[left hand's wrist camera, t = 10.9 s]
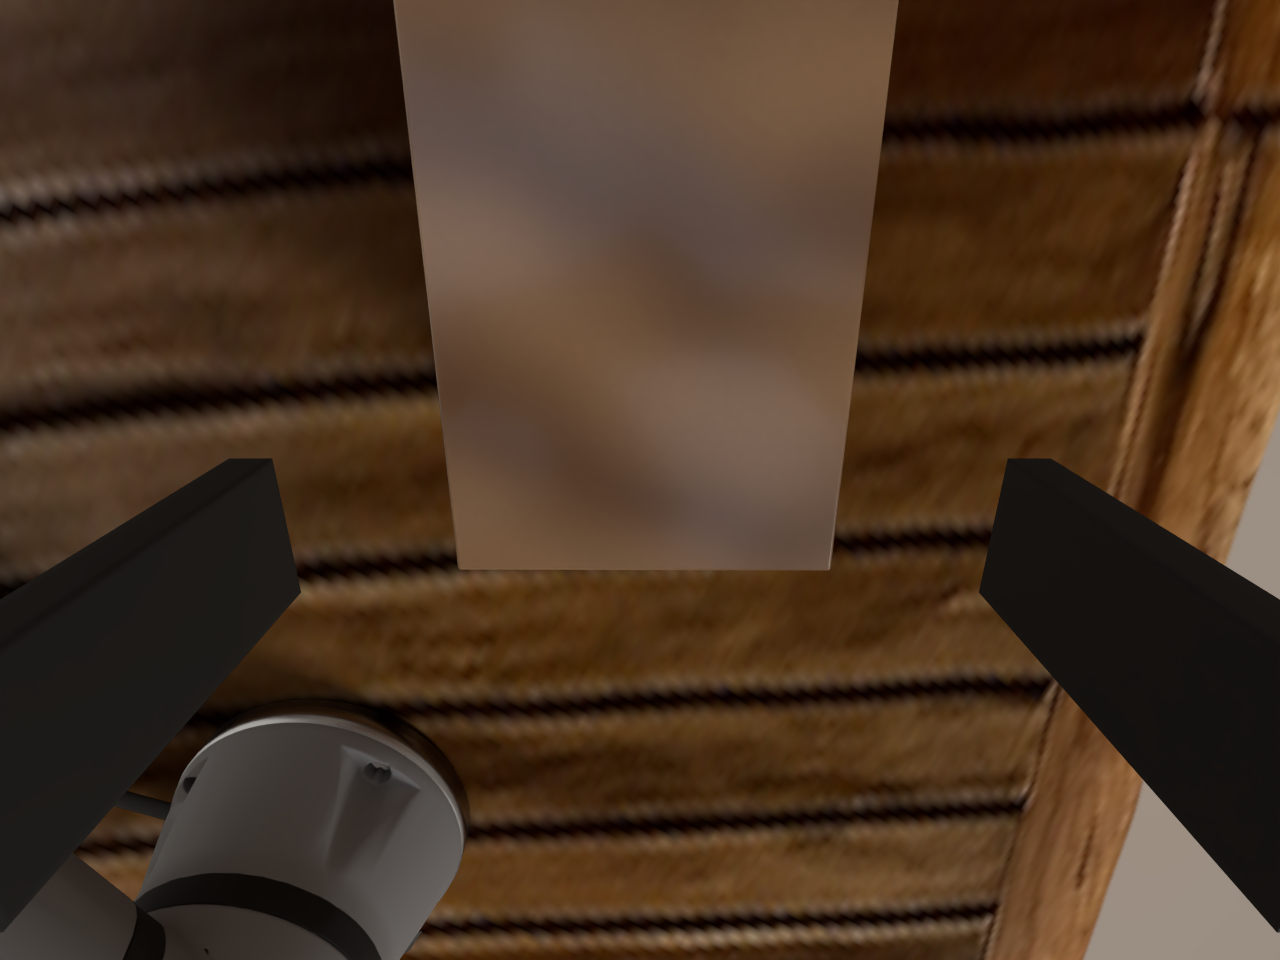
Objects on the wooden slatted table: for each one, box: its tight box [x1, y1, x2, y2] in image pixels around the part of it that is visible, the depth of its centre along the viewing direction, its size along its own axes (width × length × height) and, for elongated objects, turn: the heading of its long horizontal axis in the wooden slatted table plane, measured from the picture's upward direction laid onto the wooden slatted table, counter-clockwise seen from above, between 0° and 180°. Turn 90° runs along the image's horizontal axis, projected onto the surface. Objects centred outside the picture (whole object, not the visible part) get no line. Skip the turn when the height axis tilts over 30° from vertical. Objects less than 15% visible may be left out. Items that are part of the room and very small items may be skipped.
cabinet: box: [393, 0, 899, 570], centre depth 21 cm, size 21×11×12 cm, turn 0°
